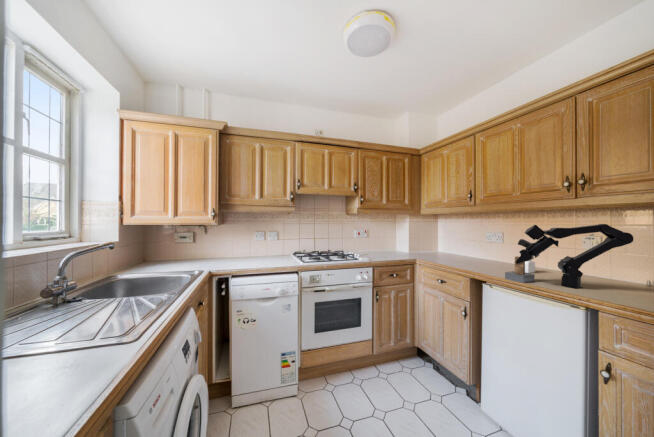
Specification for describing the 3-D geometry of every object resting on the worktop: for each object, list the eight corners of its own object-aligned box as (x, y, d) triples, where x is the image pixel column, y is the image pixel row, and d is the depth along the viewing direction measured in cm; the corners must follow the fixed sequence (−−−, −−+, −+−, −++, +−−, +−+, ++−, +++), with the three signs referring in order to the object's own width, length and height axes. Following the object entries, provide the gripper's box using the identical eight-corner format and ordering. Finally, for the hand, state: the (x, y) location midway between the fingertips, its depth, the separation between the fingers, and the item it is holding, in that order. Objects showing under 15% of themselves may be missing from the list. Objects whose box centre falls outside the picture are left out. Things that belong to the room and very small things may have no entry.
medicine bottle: (535, 272, 167) (535, 254, 167) (528, 273, 165) (528, 255, 165) (523, 270, 174) (523, 253, 174) (516, 271, 171) (516, 253, 171)
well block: (534, 281, 144) (534, 274, 144) (523, 282, 140) (523, 275, 140) (515, 277, 153) (515, 270, 153) (505, 278, 149) (505, 272, 149)
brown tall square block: (525, 274, 146) (524, 257, 146) (523, 275, 143) (523, 257, 144) (516, 273, 149) (516, 256, 149) (514, 274, 147) (514, 257, 147)
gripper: (532, 233, 149) (510, 250, 158) (523, 235, 137) (500, 253, 146) (549, 248, 143) (525, 264, 152) (542, 251, 131) (516, 268, 140)
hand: (516, 262), depth 147 cm, fingers closed on brown tall square block, 4 cm apart
